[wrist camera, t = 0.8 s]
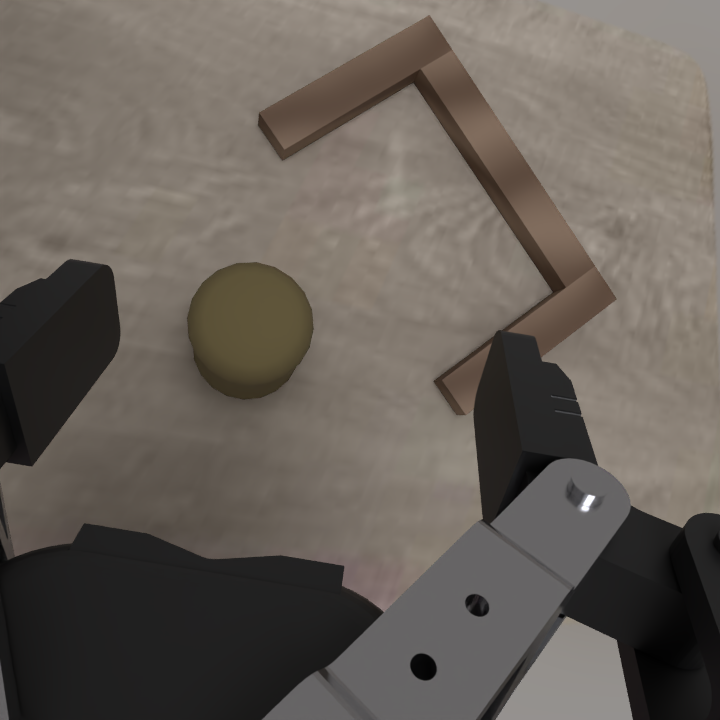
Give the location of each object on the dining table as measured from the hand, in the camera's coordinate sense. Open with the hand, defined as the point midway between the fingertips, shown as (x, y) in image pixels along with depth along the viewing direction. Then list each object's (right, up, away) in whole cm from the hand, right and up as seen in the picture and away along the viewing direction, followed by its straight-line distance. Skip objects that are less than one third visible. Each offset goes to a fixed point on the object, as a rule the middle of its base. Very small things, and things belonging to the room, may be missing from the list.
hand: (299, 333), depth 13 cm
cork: (-5, 0, +22) cm, 23 cm away
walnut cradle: (+6, +8, +25) cm, 27 cm away
